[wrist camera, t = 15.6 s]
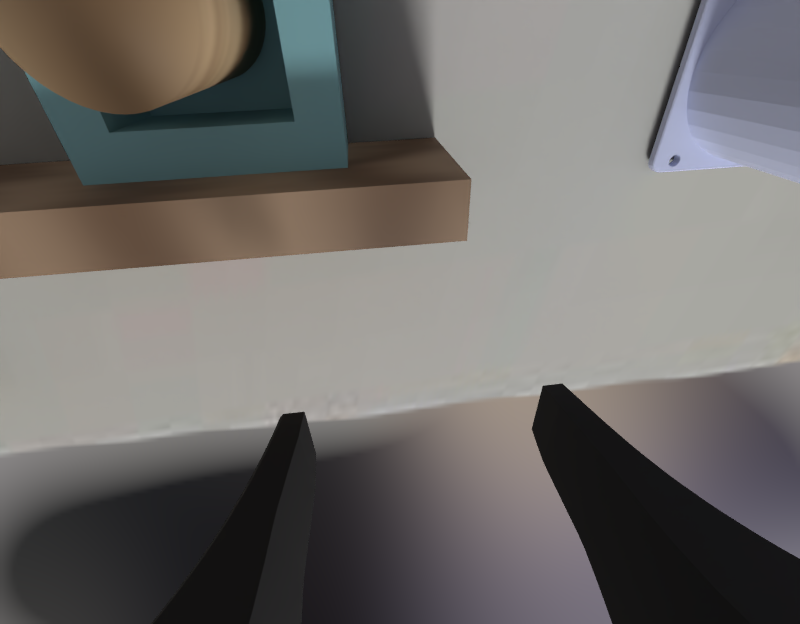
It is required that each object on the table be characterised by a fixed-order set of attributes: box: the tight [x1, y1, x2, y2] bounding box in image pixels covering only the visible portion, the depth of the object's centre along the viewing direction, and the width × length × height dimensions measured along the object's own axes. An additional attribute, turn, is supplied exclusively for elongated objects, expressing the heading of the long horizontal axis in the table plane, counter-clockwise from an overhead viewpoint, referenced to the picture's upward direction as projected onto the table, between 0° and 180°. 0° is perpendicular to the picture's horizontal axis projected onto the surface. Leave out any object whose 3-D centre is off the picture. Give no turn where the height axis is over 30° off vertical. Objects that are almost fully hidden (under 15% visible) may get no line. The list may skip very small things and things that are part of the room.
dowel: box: [0, 0, 265, 115], centre depth 10 cm, size 4×4×7 cm
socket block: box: [24, 0, 348, 186], centre depth 12 cm, size 9×9×4 cm
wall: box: [0, 138, 471, 279], centre depth 14 cm, size 20×2×6 cm, turn 91°
